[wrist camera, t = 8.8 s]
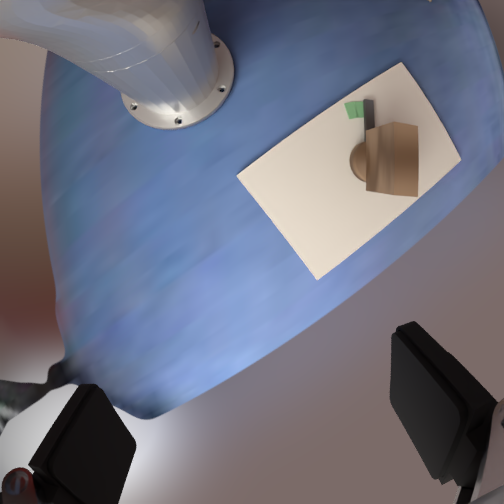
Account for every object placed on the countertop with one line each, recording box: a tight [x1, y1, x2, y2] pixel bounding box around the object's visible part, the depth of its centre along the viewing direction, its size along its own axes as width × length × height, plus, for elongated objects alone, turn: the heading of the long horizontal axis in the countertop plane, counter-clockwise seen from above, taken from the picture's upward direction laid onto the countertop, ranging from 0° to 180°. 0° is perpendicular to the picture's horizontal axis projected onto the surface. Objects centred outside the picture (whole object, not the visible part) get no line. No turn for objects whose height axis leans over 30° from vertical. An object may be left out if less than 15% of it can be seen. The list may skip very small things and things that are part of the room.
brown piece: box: [349, 99, 419, 197], centre depth 24 cm, size 10×4×8 cm, turn 0°
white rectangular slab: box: [237, 62, 461, 280], centre depth 30 cm, size 24×14×2 cm, turn 128°
